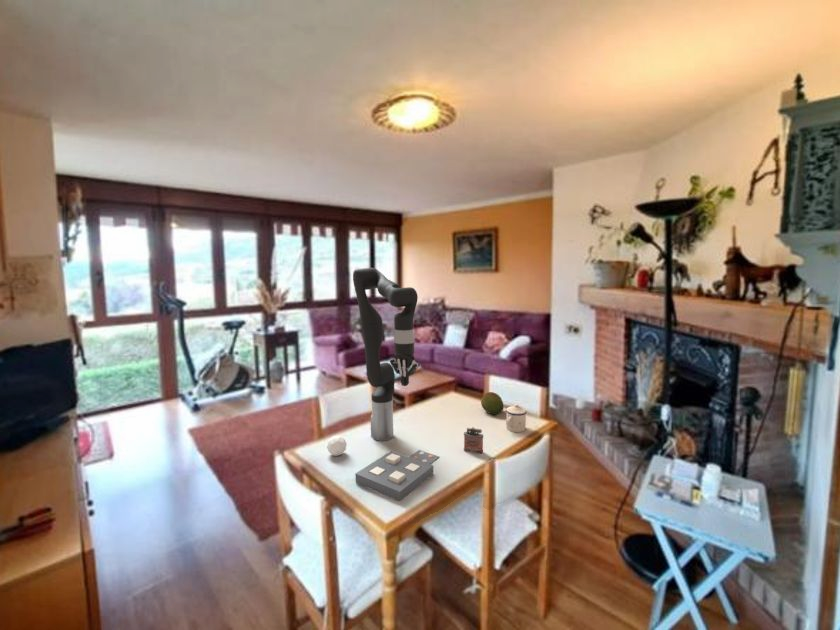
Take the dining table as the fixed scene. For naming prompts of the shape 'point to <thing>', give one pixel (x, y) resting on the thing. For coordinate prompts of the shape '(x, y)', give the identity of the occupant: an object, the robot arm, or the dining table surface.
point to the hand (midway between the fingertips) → (404, 385)
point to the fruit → (492, 403)
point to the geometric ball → (336, 445)
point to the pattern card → (424, 457)
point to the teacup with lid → (516, 418)
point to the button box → (382, 481)
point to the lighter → (473, 441)
